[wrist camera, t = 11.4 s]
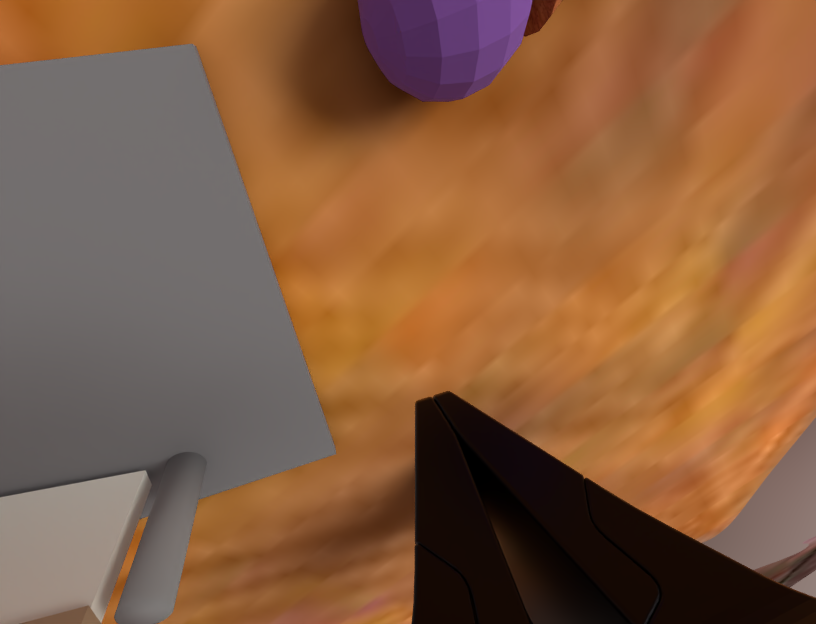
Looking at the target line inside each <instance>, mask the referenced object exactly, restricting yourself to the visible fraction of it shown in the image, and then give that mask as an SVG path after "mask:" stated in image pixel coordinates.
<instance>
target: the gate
mask: <svg viewBox="0 0 816 624" xmlns="http://www.w3.org/2000/svg"><path fill="white" fill-rule="evenodd" d="M151 486H152V484H151V482H150V479H149V477H148V475H147V472H146V470H144V471H138V472H133V473H128V474H122V475H117V476H112V477H106V478H101V479H96V480H90V481H85V482H80V483H74V484H69V485H64V486H58V487H53V488H47V489H42V490H37V491H31V492H26V493H21V494H15V495H10V496H5V497H0V624H101V622H102V620H103V617H104V614H105V612H106V609H107V606H108V603H109V601H110V598H111V595H112V592H113V590H114V587H115V584H116V581H117V579H118V576H119V573H120V571H121V568H122V565H123V562H124V560H125V557H126V554H127V551H128V549H129V546H130V543H131V541H132V538H133V535H134V532H135V530H136V527H137V524H138V521H139V519H140V516H141V513H142V510H143V508H144V505H145V502H146V500H147V497H148V494H149V491H150V489H151Z"/></svg>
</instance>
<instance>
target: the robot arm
mask: <svg viewBox="0 0 816 624" xmlns="http://www.w3.org/2000/svg"><path fill="white" fill-rule="evenodd" d="M415 544H416V545H415V575H414V604H413V615H412V624H816V598H815V597H812V596H809V595H807V594H804V593H801V592H799V591H796V590H794V589H792V588H789V587H787V586H785V585H782V584H780V583H778V582H776V581H774V580H772V579H770V578H768V577H766V576H764V575H762V574H760V573H758V572H756V571H754V570H752V569H750V568H748V567H746V566H744V565H742V564H740V563H739V562H736V561H735V560H733V559H731V558H729V557H727V556H725V555H723V554H721V553H720V552H718V551H716V550H714V549H712V548H710V547H708V546H706V545H704V544H702V543H700V542H699V541H697V540H695V539H693V538H691V537H689V536H687V535H685V534H683V533H681V532H680V531H678V530H676V529H674V528H672V527H670V526H668V525H666V524H665V523H663V522H661V521H659V520H657V519H655V518H654V517H652V516H650V515H648V514H646V513H645V512H643V511H641V510H639V509H637V508H635V507H634V506H632V505H630V504H629V503H627V502H625V501H624V500H622V499H620V498H619V497H617V496H615V495H614V494H612V493H611V492H609V491H607V490H606V489H604V488H602V487H601V486H599V485H598V484H596V483H594V482H593V481H591V480H590V479H588V478H585V479H584V477H583V475H582V474H580V473H578V472H577V471H575V470H574V469H572V468H571V467H569V466H567V465H566V464H564V463H563V462H561V461H559V460H558V459H556V458H555V457H553V456H552V455H550V454H548V453H547V452H545V451H544V450H542V449H541V448H539V447H537V446H536V445H534V444H533V443H531V442H529V441H528V440H526V439H525V438H523V437H522V436H520V435H518V434H517V433H515V432H514V431H512V430H511V429H509V428H507V427H506V426H504V425H503V424H501V423H499V422H498V421H496V420H495V419H493V418H492V417H490V416H488V415H487V414H485V413H484V412H482V411H481V410H479V409H477V408H476V407H474V406H473V405H471V404H469V403H468V402H466V401H465V400H463V399H462V398H460V397H458V396H457V395H455V394H454V393H452V392H450V391H446V392H443V393H440V394H436V395H434V396H433V398H432V397H427V398H424V399H421V400H418V401H416V403H415Z"/></svg>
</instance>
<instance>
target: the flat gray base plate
mask: <svg viewBox="0 0 816 624" xmlns="http://www.w3.org/2000/svg"><path fill="white" fill-rule="evenodd" d="M334 454H336V449H335V445H334V442H333V439H332V437H331V434H330V431H329V428H328V425H327V422H326V419H325V416H324V413H323V411H322V408H321V405H320V402H319V399H318V396H317V393H316V390H315V388H314V385H313V382H312V379H311V376H310V373H309V370H308V367H307V365H306V362H305V359H304V356H303V353H302V350H301V347H300V344H299V341H298V339H297V336H296V333H295V330H294V327H293V324H292V321H291V318H290V316H289V313H288V310H287V307H286V304H285V301H284V298H283V295H282V293H281V290H280V287H279V284H278V281H277V278H276V275H275V272H274V269H273V267H272V264H271V261H270V258H269V255H268V252H267V249H266V246H265V244H264V241H263V238H262V235H261V232H260V229H259V226H258V223H257V221H256V218H255V215H254V212H253V209H252V206H251V203H250V200H249V197H248V195H247V192H246V189H245V186H244V183H243V180H242V177H241V174H240V172H239V169H238V166H237V163H236V160H235V157H234V154H233V151H232V149H231V146H230V143H229V140H228V137H227V134H226V131H225V128H224V126H223V123H222V120H221V117H220V114H219V111H218V108H217V105H216V102H215V100H214V97H213V94H212V91H211V88H210V85H209V82H208V79H207V77H206V74H205V71H204V68H203V65H202V62H201V59H200V56H199V54H198V51H197V48H196V46H195V45H193V44H187V45H178V46H169V47H160V48H151V49H142V50H134V51H125V52H116V53H107V54H98V55H89V56H80V57H71V58H62V59H53V60H45V61H36V62H27V63H18V64H9V65H0V497H5V496H10V495H15V494H21V493H26V492H31V491H37V490H42V489H47V488H53V487H58V486H64V485H69V484H74V483H80V482H85V481H90V480H96V479H101V478H106V477H112V476H117V475H122V474H128V473H133V472H138V471H144V470H146V472H147V475H148V477H149V479H150V482H151V484H152V486H151V489H150V491H149V494H148V497H147V500H146V502H145V505H144V508H143V510H142V513H141V516H140V519H142V518H145V517H148V516H149V517H148V520H147V523H146V526H145V529H144V532H143V535H142V537H141V540H140V543H139V546H138V549H137V552H136V555H135V558H134V561H133V564H132V566H131V569H130V572H129V575H128V578H127V581H126V584H125V587H124V590H123V593H122V595H121V598H120V601H119V604H118V607H117V610H116V613H115V616H114V618H115V621H116V622H117V623H118V624H156V623H159V622H161V621H163V620H165V619H166V618H167V617H169V616H170V615H171V613H172V612H173V609H174V605H175V600H176V596H177V592H178V587H179V583H180V579H181V574H182V570H183V565H184V561H185V557H186V552H187V548H188V544H189V539H190V535H191V530H192V526H193V522H194V517H195V513H196V509H197V504H198V500H199V499H202V498H205V497H208V496H211V495H214V494H217V493H220V492H223V491H226V490H229V489H232V488H235V487H238V486H241V485H244V484H247V483H250V482H253V481H256V480H259V479H262V478H265V477H268V476H271V475H274V474H277V473H280V472H283V471H286V470H289V469H292V468H295V467H298V466H301V465H304V464H307V463H310V462H313V461H316V460H319V459H322V458H325V457H328V456H331V455H334Z"/></svg>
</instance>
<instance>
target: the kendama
mask: <svg viewBox="0 0 816 624" xmlns="http://www.w3.org/2000/svg"><path fill="white" fill-rule="evenodd" d="M561 1H562V0H358V7H359V14H360V21H361V27H362V33H363V37H364V40H365V43H366V45H367V48H368V49H369V51H370V53H371V55H372V57H373V58H374V60H375V61H376V63H377V65H378V66H379V68H380V70H381V71H382V72H383V74H384V75H385V77H386V78H387V79H388V81H389V82H390V83H392V84H393V85H395V86H396V87H398V88H400V89H401V90H403V91H405V92H407V93H409V94H410V95H412V96H414V97H416V98H418V99H419V100H421V101H443V102H449V101H454V100H459V99H463V98H465V97H467V96H469V95H471V94H473V93H475V92H477V91H479V90H481V89H482V88H484V87H486V86H488V85H489V84H490V83H491V82H492V81H493V79H494V78H495V77H496V76H497V74H498V73H499V72H500V71H501V69H502V68H503V67H504V65H505V64H506V63H507V62H508V60H509V59H510V58H511V56H512V55H513V54H514V52H515V51H516V50H517V48H518V47H519V46H520V44H521V42H522V39H523V36H525V37H526V36H528V35H531V34H533V33H536V32H538V31H540V29H541V28H542V27H543V25H544V24H545V23H546V22H547V20H548V19H549V18H550V16H551V15H552V14H553V12H554V11H555V10H556V8H557V7H558V6H559V4H560V3H561Z"/></svg>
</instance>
